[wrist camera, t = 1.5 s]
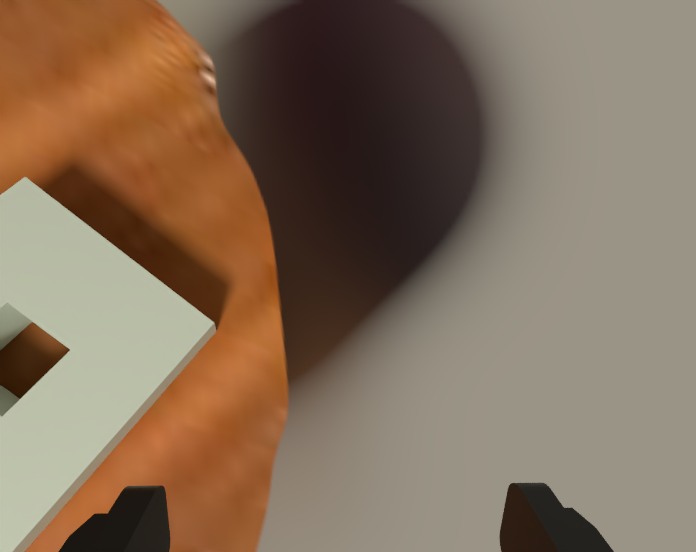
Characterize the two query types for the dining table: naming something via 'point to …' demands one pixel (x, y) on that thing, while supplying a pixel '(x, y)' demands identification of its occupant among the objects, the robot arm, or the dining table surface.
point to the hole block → (77, 354)
